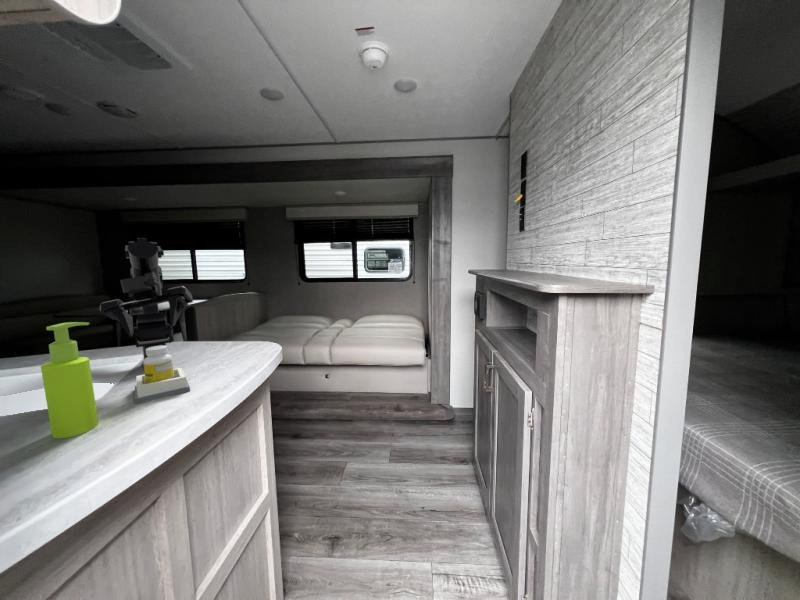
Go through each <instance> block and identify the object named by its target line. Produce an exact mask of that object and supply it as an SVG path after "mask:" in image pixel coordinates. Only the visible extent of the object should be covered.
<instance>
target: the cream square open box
mask: <svg viewBox="0 0 800 600" xmlns="http://www.w3.org/2000/svg"><path fill="white" fill-rule="evenodd" d="M173 371H174V378H172V379H167V380H162V381H158V382H153V383H148V384H146V379H145V373H144V374H141V375H136V378H135V379H136V385H135V386H134V402H135V403H134V404H139V403H144V402H148V401H153V400H157V399H161V398H166V397H170V396H173V395H179V394H182V392H183V393H186V391H187V392H190V391H191V387H190V385H189V382H188V380H187V376H186V374H185V372H184V369H183V368H182V367H178V368H177V367H176V368H173Z"/></svg>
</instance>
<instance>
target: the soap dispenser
mask: <svg viewBox="0 0 800 600" xmlns="http://www.w3.org/2000/svg"><path fill="white" fill-rule="evenodd" d="M89 325H90V322H86V321H85V322H84V321H82V322H81V321H80V322H79V321H73V322H72V321H69V322H68V321H67V322H62V323H56V324H53V325H50V326H49V325H48V326H46V331H53V335H54V340H55V341H53V342H52V343H50V344H48V350H49V355H50V356H49V357H50V361H49V362H46V363H44V364H41V365H40V371H41V376H42V382H43V387H44V393H45V401H46V406H47V413H48V418H49V424H50V431H51V437H52V438H53V439H66V438H71V437H75V436H79V435H82V434H85V433H87V432H89V431H92V430H93V429H95V428H96V427H97V426H98V425H99V420H98V413H97V406H96V405H97V404H96V397H95V391H94V384H93V377H92V376H93V375H92V369H91V364H90V362H91V361H90V358H89V357H87V356H80V355H79V354H80V353H79V347H78V341H76V340H73V339H70V334H69V329H68V328H72V327H76V326H78V327H79V326H89Z"/></svg>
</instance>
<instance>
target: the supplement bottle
mask: <svg viewBox="0 0 800 600" xmlns="http://www.w3.org/2000/svg"><path fill="white" fill-rule="evenodd" d="M168 352H169V351H168V346H167V345H166V346H165V345H160V346H153V347H149V348H147V349H146V355H147V356H148V357H147V358H145V359H144V358H143V360H142V365H143V364H144V367H143V369H144V374H145V379H146V384H148V383H153V382H158V381H162V380H167V379H172V378H174V371H173V369H174V362H173V357H172V355H171V354H169V353H168Z"/></svg>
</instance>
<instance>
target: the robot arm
mask: <svg viewBox="0 0 800 600" xmlns="http://www.w3.org/2000/svg"><path fill="white" fill-rule="evenodd" d="M164 252H165V251H164V249H162V248H161V246H159V245H158V243H157V242H155V241H148V238H147V237H142V238H141V237H137V239H136V241H128V245H125V248H124V254H125V258H126V259H129V261H130V265H131V268H130V277H128V278H124V279H123V278H122V279H120V285H121V288H122V292H123V293H124V294H128V296H129V298H131V299H134V300H131V301H128V302H127V301H126V302H124V301H123V300H121V299H120V298H116V299H112V300H108V301H103V302H101V303H100V305H99V312H100V313H101V314H103V315H105V316H107V317H108V318H110V319H111V320H116V321H118V322H120V324H121V325H122V327H123V329H124V331H125V332H126V333H127V335H128V336H129V337H134V339H135V348H139V347H140V348H141V347H142V354H143V355H142V356H143V360H144V359H145V358H147V357H148V356H147V355H146V349H147V348H149V347H153V346H160V345H165V346H167V344H171V343H173V342H175V339H174V328H173V327H175V326H176V324H177V321H178V319H179V317H180V315H181V313H182V312H183V310H184V309H185V307H188V306H189V304H191V303H193V302H194V299H193V295H192V293H191V292H190V291H189V289H188V288H187V287H185V286H184V285H180V286H174V287H169V288H168V289H166V290H167V293H166V294H163V293H162V290H163V285H164V279H163V278H164V277H163V270H162V267H161V266H159V259H162V257H164V255H165V253H164ZM164 303H168V305H169V321H170V323H167V317H166V315H165V313H164V312H163V311H162V312H160V310H159V304H164ZM139 308H141V309H142V313H138V315H137V316H136V318H137V319H136V326H134V318H133V316H132V315H131V314H132V310H135V309H139ZM133 335H134V336H133ZM142 368H144V364H143V363H142Z"/></svg>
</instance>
